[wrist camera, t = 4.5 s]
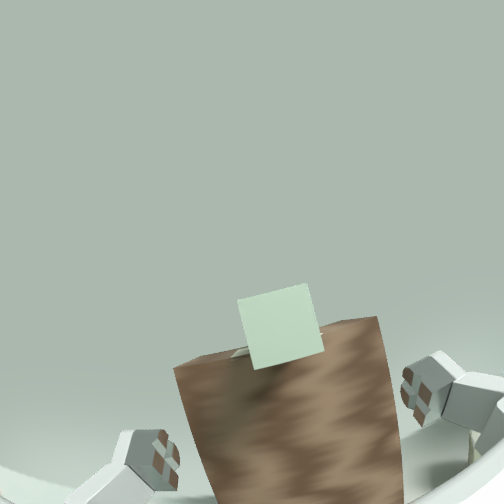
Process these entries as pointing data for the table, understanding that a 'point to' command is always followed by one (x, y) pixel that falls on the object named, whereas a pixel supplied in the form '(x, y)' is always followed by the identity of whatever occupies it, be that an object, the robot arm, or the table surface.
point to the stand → (298, 422)
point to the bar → (280, 326)
